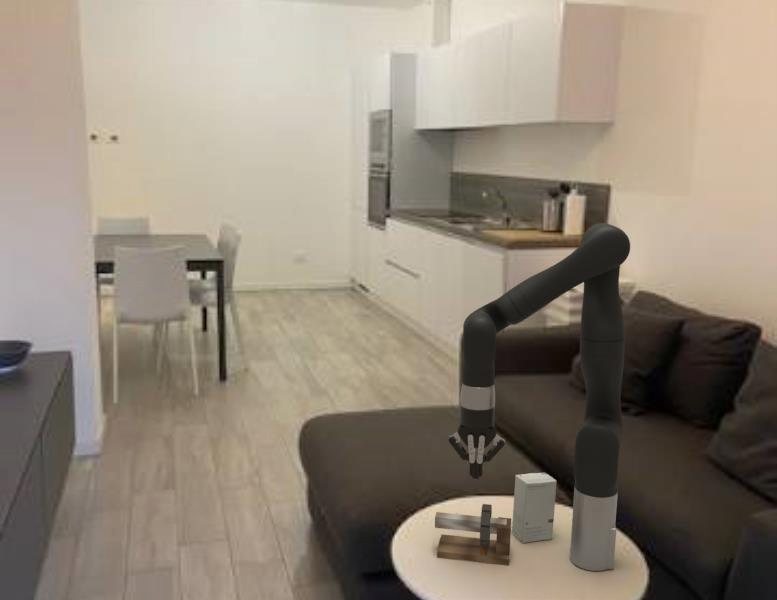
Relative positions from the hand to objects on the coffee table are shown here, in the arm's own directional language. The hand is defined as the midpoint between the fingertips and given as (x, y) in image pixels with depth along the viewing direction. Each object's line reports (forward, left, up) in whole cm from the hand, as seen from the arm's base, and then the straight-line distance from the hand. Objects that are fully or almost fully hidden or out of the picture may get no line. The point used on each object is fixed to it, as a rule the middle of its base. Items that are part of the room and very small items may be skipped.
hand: (475, 477), depth 172 cm
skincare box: (-13, -11, -19) cm, 25 cm away
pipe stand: (0, 0, -18) cm, 18 cm away
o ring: (-3, 0, -15) cm, 16 cm away
